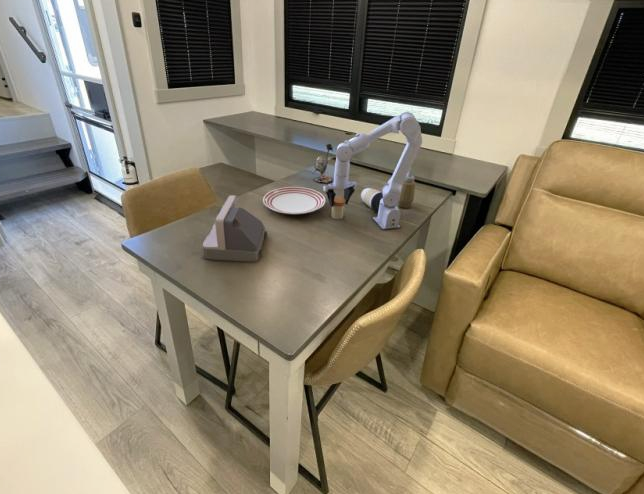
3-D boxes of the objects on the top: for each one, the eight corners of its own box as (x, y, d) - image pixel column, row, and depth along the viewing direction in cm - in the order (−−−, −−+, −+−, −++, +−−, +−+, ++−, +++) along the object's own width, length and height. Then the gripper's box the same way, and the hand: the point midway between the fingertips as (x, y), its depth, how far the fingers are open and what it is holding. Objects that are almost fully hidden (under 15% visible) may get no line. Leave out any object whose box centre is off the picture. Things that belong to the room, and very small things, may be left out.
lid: (347, 205, 135) (347, 202, 134) (334, 207, 133) (334, 203, 133) (342, 199, 140) (342, 196, 139) (329, 200, 138) (330, 197, 137)
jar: (345, 218, 138) (346, 203, 135) (333, 219, 137) (335, 204, 133) (340, 213, 143) (342, 197, 139) (329, 214, 141) (330, 198, 138)
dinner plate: (252, 213, 137) (252, 206, 135) (276, 188, 161) (276, 182, 159) (316, 224, 132) (316, 217, 131) (330, 197, 156) (331, 191, 154)
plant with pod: (319, 175, 180) (321, 138, 170) (334, 181, 173) (338, 144, 163) (308, 178, 175) (310, 141, 165) (324, 185, 168) (326, 146, 158)
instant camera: (222, 226, 127) (218, 190, 119) (274, 233, 124) (274, 197, 117) (195, 257, 108) (189, 217, 101) (255, 267, 106) (254, 227, 99)
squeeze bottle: (410, 202, 157) (418, 166, 148) (413, 210, 150) (421, 172, 141) (393, 200, 157) (400, 164, 148) (395, 208, 150) (402, 171, 141)
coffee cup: (372, 206, 155) (387, 216, 141) (355, 201, 151) (370, 211, 138) (379, 188, 153) (395, 196, 139) (362, 183, 149) (378, 191, 136)
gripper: (351, 168, 137) (348, 198, 143) (320, 172, 130) (318, 203, 137) (361, 174, 131) (356, 205, 138) (329, 179, 125) (326, 210, 132)
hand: (338, 204), depth 137 cm, fingers open, 6 cm apart
